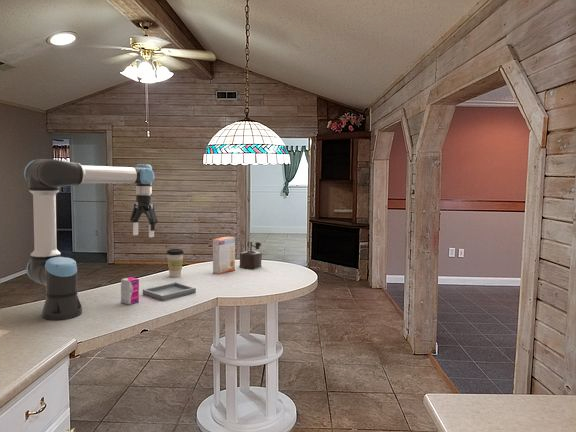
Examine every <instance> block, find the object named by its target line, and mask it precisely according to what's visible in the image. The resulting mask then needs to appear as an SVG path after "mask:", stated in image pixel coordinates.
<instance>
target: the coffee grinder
mask: <svg viewBox="0 0 576 432" xmlns="http://www.w3.org/2000/svg"><path fill="white" fill-rule="evenodd" d="M249 243H250V244H249V245H250V248H249V249H247V250H245V251H243V252H239V268H241V269H246V270H247V269H248V270H256V269H259V268H258V267H260V268H261V267H262V257H263V256H262V254H263V253H262V252H259V251H256V250H260V247H261V246H262V242H261V241H259V240H258V241H255V243H254V244H253V241H250V242H249ZM253 248H254V249H255V250H254V249H253ZM255 268H256V269H255Z"/></svg>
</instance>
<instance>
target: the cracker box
mask: <svg viewBox="0 0 576 432" xmlns="http://www.w3.org/2000/svg"><path fill="white" fill-rule="evenodd" d="M235 270H236V237H235V236H230V235H229V236H223V237H218V238H213V239H212V274H216V275H221V274H225V273H229V272H233V271H235Z"/></svg>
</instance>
